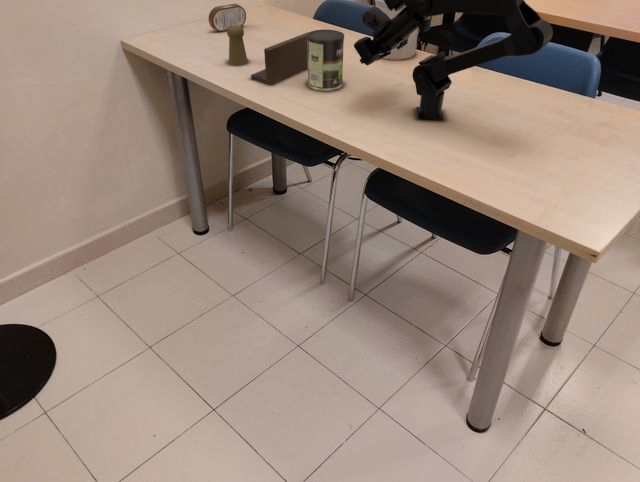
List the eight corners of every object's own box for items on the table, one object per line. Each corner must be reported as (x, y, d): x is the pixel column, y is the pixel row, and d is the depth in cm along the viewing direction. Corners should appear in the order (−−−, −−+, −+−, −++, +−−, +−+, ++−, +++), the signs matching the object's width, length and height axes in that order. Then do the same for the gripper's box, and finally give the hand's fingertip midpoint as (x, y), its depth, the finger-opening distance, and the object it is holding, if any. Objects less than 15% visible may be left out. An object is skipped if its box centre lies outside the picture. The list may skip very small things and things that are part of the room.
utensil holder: (368, 58, 164) (371, 0, 154) (375, 44, 176) (379, -10, 165) (413, 62, 162) (420, 4, 151) (417, 48, 173) (424, -8, 162)
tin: (243, 24, 194) (241, 1, 188) (248, 26, 192) (246, 3, 186) (209, 32, 186) (206, 7, 181) (213, 34, 184) (210, 9, 179)
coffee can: (345, 79, 150) (347, 30, 141) (339, 92, 142) (340, 41, 133) (311, 76, 151) (311, 27, 143) (303, 89, 143) (303, 38, 135)
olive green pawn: (224, 63, 160) (220, 27, 153) (236, 57, 164) (232, 22, 157) (240, 66, 158) (237, 30, 151) (251, 60, 162) (248, 25, 155)
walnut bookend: (313, 66, 159) (313, 33, 152) (271, 85, 146) (269, 50, 140) (293, 60, 162) (292, 28, 156) (251, 78, 150) (248, 44, 143)
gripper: (402, -10, 128) (363, 28, 140) (362, 5, 117) (324, 44, 129) (425, 28, 130) (385, 62, 142) (388, 46, 118) (348, 81, 130)
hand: (361, 61), depth 135 cm, fingers closed
